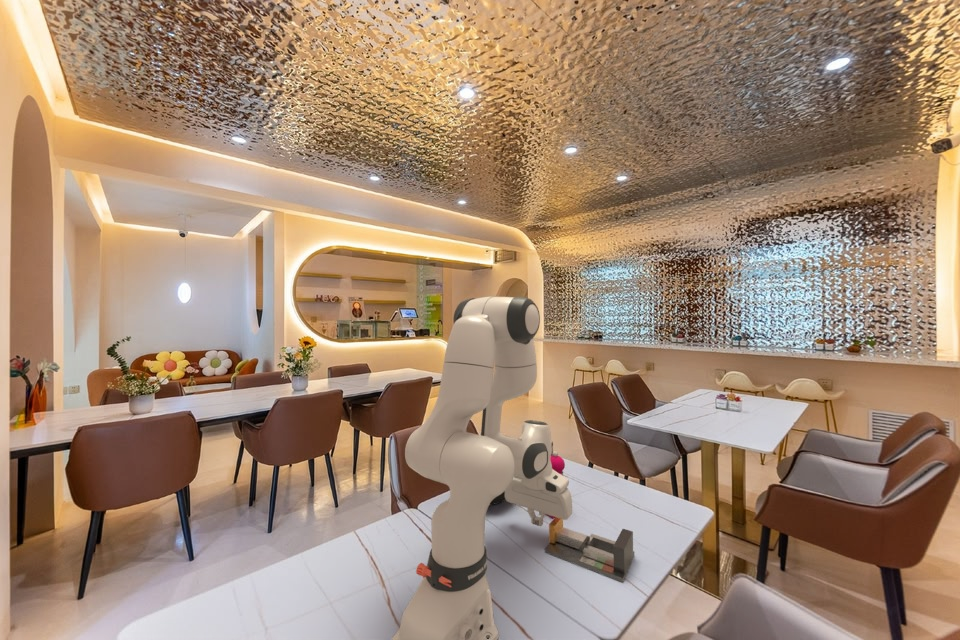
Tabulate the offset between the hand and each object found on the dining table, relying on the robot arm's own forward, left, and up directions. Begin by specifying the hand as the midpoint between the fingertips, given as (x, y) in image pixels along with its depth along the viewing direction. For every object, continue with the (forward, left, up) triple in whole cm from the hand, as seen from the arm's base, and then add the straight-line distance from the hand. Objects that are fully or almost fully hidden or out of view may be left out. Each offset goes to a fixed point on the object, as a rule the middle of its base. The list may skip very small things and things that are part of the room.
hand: (537, 524), depth 105 cm
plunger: (-2, -10, -2) cm, 11 cm away
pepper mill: (+14, 0, -3) cm, 14 cm away
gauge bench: (0, -15, -3) cm, 15 cm away
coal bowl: (+9, +22, -3) cm, 24 cm away
